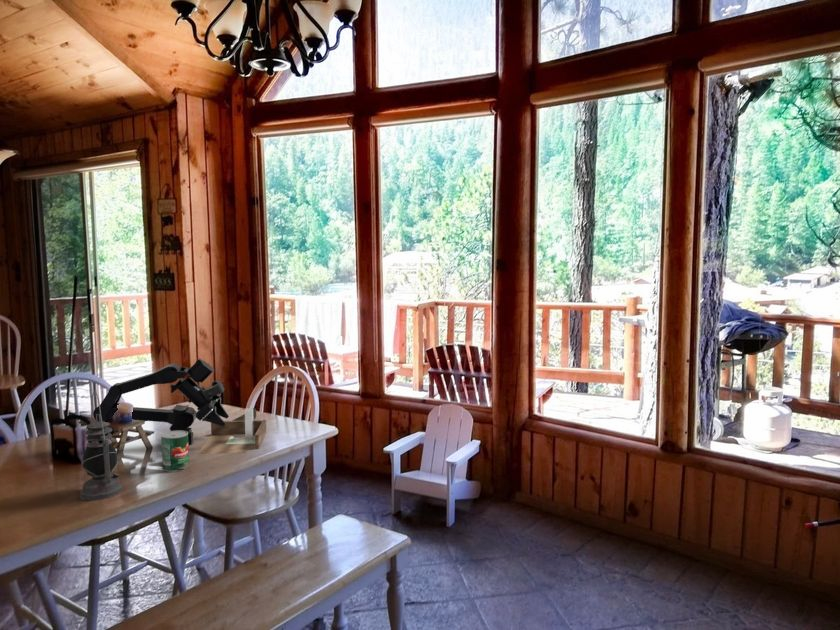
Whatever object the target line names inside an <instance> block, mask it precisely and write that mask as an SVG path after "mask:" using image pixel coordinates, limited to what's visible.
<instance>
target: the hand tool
mask: <svg viewBox="0 0 840 630" xmlns="http://www.w3.org/2000/svg"><path fill="white" fill-rule="evenodd" d="M252 408H253V420H256V418H257V409H256V408H255V407H252ZM231 421H245V413H244V414H242V415H240V416H238V417H237V418H235V419H233V420H231Z"/></svg>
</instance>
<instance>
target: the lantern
mask: <svg viewBox="0 0 840 630" xmlns="http://www.w3.org/2000/svg"><path fill="white" fill-rule="evenodd" d="M94 395H96V399H97V402H98V406H99V411H100V415H99V414H96V419H95V422H93V412H94ZM100 404H101V402H100V397H99V395H98V392H97V390H96V389H94V391H93V392H92V395H91V413H90V414H91V415H90V423H89V424H87V426H86V427H87V428H88V430H86V431H85V432H84V434H85V435H86V436H85V439H86V441H88V442H87V443H86V447H85V450H84V452H83V454H82V458H81V461H82V464H81V467H82V468H83V470H84V471H85V472H86V476H90V477H91V478H90V479H88V480H86V481H84V483H83V485H82V489H80V494H79V497H80V499H82V500H85V501H100V500H105V499H110V498H113V497H115V496H117V495H119V494H120V493H122V491H123V487H122V483H121V482H120V479H119V476H120V474H119V473H113V472H114V471H115V469H116V467H117V465H118V464H119V463H118V462H119V457H118V452H117V450H116V448H115V447H114V446H113V442H112V440H111V439H110V438H112V435H113V434H112V433H111V432H113V428H112V427H108V426H110V425H111V424H110V423H111V422H103V421H102V418H101V410H100ZM97 415H99V422H98V421H97ZM100 419H101V421H100ZM111 473H112V475H111Z"/></svg>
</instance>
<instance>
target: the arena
mask: <svg viewBox="0 0 840 630" xmlns="http://www.w3.org/2000/svg"><path fill="white" fill-rule="evenodd" d="M223 421H224V422H225V425H224V426H221V425H218V424H214V423H211V422H210V429H211V430H210V433H211V435H210V437H208V438H207V440H206V441H205V442H204V444H203V445H202V446H201V448H200V449H199V451H198V452H197V453H196V455H207V454H208V455H210V454H215V455H216V454H217V455H218V454H246V453H247V451H248V450H260V447H261V445H262V444H263V441H264V439H265V437H266V435H267V420H266V419H254V420H253V426H254V436H255V444H226V443H227V441H228V440H229V438H230V437H234V435H235V434H245V421H232V420H223Z"/></svg>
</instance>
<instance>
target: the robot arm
mask: <svg viewBox="0 0 840 630" xmlns="http://www.w3.org/2000/svg"><path fill="white" fill-rule="evenodd" d="M214 372H215V369H214V368H213V366H212V365H211V364H210V363H208V362H206V361H205V360H202V359H201V358H200V357H199V358H198V359H196V361H195V362H194V364H193V365H191V367H187V366H180V365H179V364H177V363H169V364H167V365H166V366H164V367H161V368H159V369H157V370H156V371H154V372H152V373H148V374H145V375H141V376H138V377H135V378H132V379H128V380H125V381H121V382H116V383H114V384H113V385H112V386H111V387H110V388H109V390H108V392H107V393H106V395H105V397H104V398H103V399H102V401H101V402H100V410H101V418H102V421H103V422H105V421H106V420H107V418H109V417H112V416H113V415H114V413H115V412H116V411H117V410H118V408H117V405H119V404H121V403H119V402H120V400H121V398H122V395H125V394H127V393H130V392H134V391H137V390H141V389H143V388H147V387H151V386H155V385H166V384H167V385H168V384H170V393H171V394H173V393H174V392H175V391H177V390H178V392H179V393H181V394H182V395H183V396H184V397H186V399H187V400H188V401H187V402H188V403H189V404H191V403H192V405H194V406H196V409H197V410H195V408H193V407H192V406H190V405H188V404H187V405H182V404H176V405H175V406H174V407H173V408H172V409H167V408H166V409H165V408H164V409H163V408H153V407H152V408H150V407H137V406H136V407H135V406H132V407H133V412H132V419H133V420H132V421H143V422H144V421H146V422H156V423H157V422H158V423H167V424H170V425H171V426H170V427H169V430H170V431H176V430H183V431H187V432H188V446H191V445H193V444H194V432H193V431H192V427H191V426H192V425H193V424H194V422H195V420H196V419H197V420H198V421H202V422H208V423H210V424H211V423H214V424H218V425H221V426H224V425H225V422H224V421H225V420H223V418H224V419H226V420H227V419H228V418H229V417H230V416H229V414H228V413H227V411H226V408H224V406H223V404H222V397H221V394H223V393H224V391H225V390H226V389H225V388H224V386H223V385H224V383H222V382H221V381H218V380H214V381H212V382H211V386H209V387H207V388H206V387H205V386H200V385H199V383H204V381H206V380H207V379H208V378H209V377H210V376H211V375H212V374H213V373H214ZM187 375H188V376H187ZM178 379H179V380H178ZM176 381H177V382H176ZM175 382H176V383H175ZM96 414H99V415H100V411H99V405H98V406H97V407H95V408H94V409H93V415H92V417H93V418H94V420H96ZM99 415H97V422H99ZM106 417H107V418H106ZM100 421H101V419H100Z"/></svg>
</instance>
